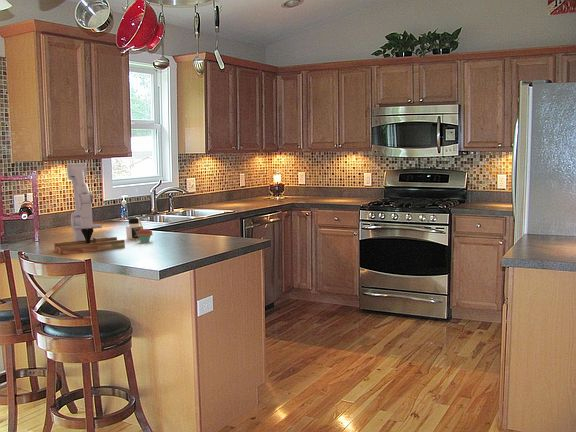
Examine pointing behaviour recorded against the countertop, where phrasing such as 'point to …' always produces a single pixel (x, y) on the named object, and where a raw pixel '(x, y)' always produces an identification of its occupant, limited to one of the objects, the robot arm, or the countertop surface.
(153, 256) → the countertop surface
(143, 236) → the cupcake
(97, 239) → the walnut block
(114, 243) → the box
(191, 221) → the countertop surface
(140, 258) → the countertop surface
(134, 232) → the medicine bottle
